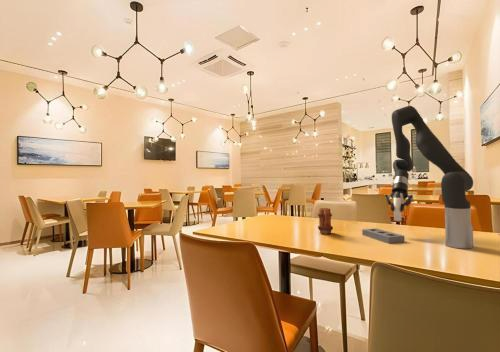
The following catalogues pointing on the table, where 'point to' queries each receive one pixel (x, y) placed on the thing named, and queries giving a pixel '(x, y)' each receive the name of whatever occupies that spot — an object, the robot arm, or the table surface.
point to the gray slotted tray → (383, 235)
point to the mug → (325, 221)
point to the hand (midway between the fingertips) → (396, 210)
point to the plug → (397, 207)
